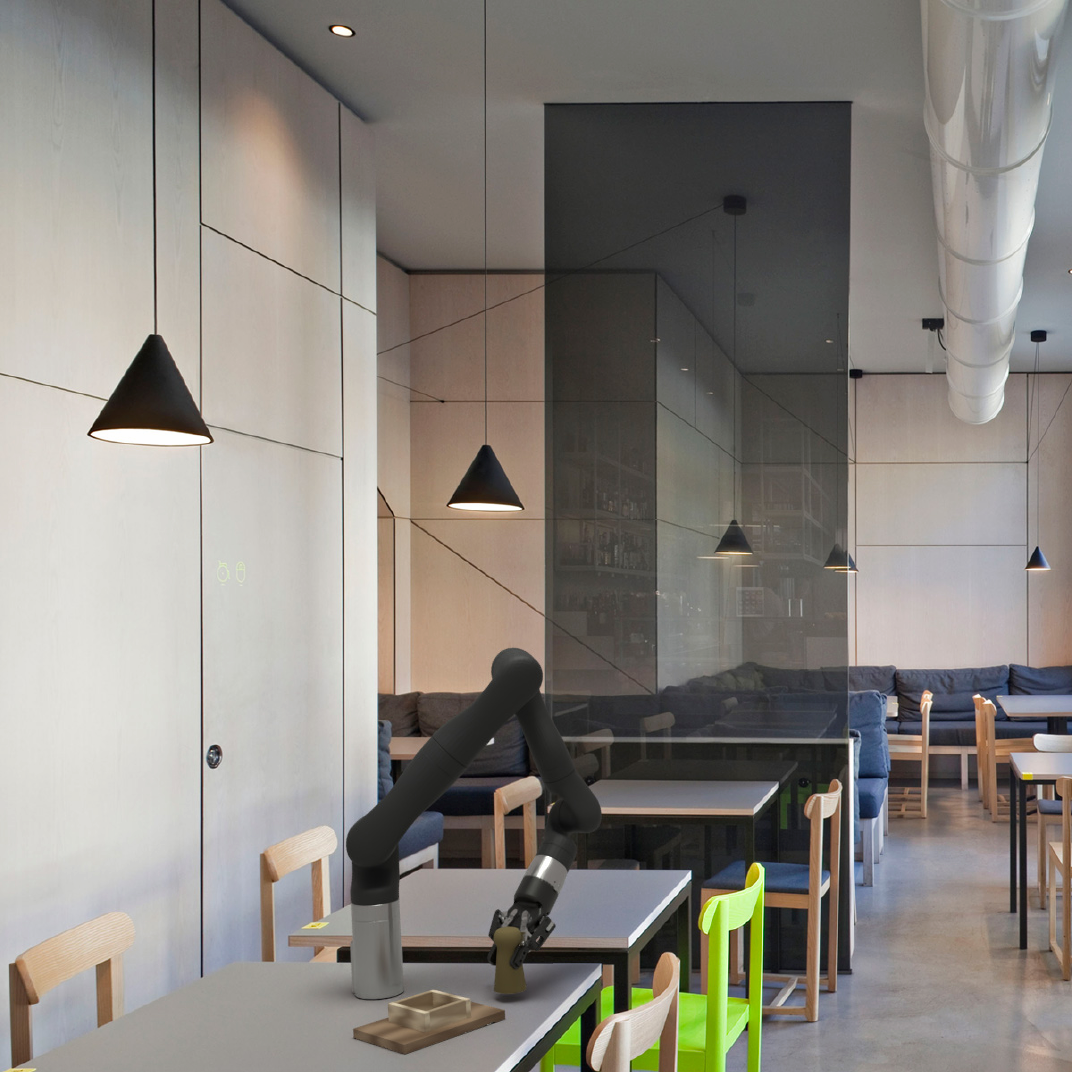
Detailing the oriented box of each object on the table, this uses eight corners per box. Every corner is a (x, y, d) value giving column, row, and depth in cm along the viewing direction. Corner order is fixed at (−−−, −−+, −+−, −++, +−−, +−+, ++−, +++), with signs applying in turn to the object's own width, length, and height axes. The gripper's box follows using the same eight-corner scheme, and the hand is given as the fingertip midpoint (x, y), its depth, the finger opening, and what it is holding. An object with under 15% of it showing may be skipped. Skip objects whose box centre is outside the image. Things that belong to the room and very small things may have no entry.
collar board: (353, 1037, 207) (352, 1010, 207) (452, 1005, 222) (451, 979, 222) (404, 1054, 197) (403, 1025, 197) (505, 1019, 212) (503, 992, 212)
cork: (522, 994, 221) (519, 931, 222) (490, 993, 222) (487, 932, 223) (529, 984, 227) (526, 923, 228) (498, 984, 228) (495, 923, 229)
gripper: (503, 870, 236) (462, 948, 226) (560, 877, 227) (521, 959, 217) (522, 893, 240) (483, 971, 230) (580, 900, 231) (542, 982, 220)
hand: (502, 964), depth 223 cm, fingers closed on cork, 4 cm apart
